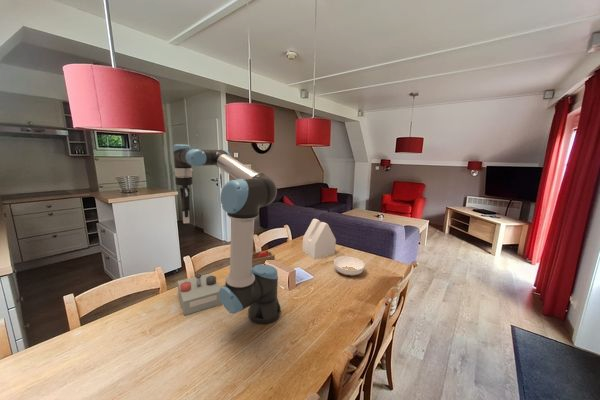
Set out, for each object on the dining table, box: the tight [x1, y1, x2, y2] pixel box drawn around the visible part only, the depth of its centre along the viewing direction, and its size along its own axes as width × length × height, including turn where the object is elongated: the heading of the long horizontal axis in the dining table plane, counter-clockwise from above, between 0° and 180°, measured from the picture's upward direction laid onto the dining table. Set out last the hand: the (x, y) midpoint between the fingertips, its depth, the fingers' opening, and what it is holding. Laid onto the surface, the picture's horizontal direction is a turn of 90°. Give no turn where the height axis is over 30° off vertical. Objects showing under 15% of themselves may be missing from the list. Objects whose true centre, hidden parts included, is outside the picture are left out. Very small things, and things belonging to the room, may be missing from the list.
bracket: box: [258, 251, 268, 258], centre depth 163 cm, size 12×4×8 cm, turn 115°
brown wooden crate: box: [252, 249, 276, 268], centre depth 164 cm, size 10×17×5 cm, turn 123°
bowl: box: [333, 255, 366, 277], centre depth 156 cm, size 20×20×6 cm
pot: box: [195, 273, 202, 287], centre depth 121 cm, size 3×3×6 cm
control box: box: [177, 272, 223, 316], centre depth 122 cm, size 20×17×7 cm
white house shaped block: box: [302, 218, 337, 260], centre depth 181 cm, size 19×15×25 cm
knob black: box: [206, 275, 217, 285], centre depth 125 cm, size 5×5×9 cm
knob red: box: [180, 282, 191, 292], centre depth 118 cm, size 5×5×9 cm
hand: (186, 222), depth 123 cm, fingers closed
